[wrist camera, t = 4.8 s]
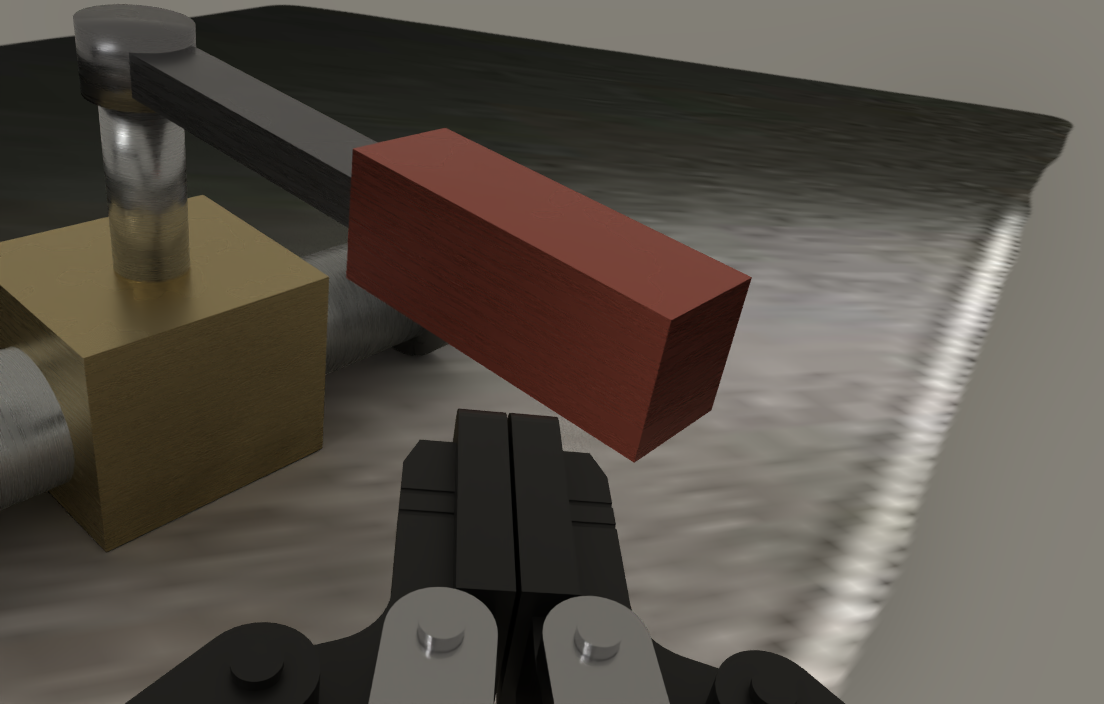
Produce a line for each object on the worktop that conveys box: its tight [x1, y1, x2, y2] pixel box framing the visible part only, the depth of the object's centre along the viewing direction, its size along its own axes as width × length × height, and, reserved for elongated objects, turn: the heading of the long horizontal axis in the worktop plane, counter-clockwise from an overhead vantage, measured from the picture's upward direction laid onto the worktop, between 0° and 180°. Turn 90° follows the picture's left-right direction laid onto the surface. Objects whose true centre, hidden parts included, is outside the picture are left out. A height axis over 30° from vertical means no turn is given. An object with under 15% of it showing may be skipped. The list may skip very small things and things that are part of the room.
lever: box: [73, 4, 752, 462], centre depth 22 cm, size 20×3×3 cm, turn 49°
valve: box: [0, 106, 449, 552], centre depth 30 cm, size 23×7×12 cm, turn 139°
